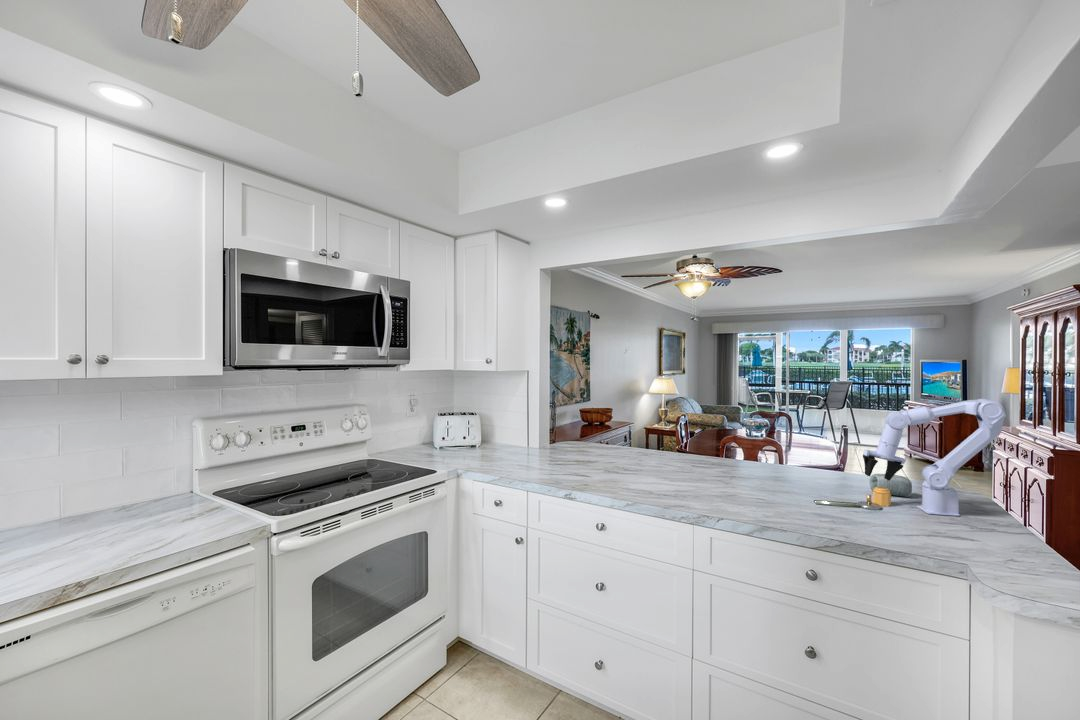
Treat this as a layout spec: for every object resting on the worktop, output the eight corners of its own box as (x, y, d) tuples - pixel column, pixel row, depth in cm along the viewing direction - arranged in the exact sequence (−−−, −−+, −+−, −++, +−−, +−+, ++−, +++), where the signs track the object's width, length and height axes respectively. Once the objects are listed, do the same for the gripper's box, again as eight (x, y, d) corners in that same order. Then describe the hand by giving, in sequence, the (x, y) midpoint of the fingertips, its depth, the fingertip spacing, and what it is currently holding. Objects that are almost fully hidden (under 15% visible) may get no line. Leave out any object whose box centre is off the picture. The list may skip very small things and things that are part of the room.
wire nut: (886, 502, 175) (886, 486, 175) (892, 506, 170) (892, 490, 170) (871, 501, 176) (871, 485, 176) (877, 505, 171) (877, 489, 171)
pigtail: (875, 504, 172) (875, 492, 172) (884, 510, 165) (884, 498, 165) (811, 500, 178) (811, 488, 178) (817, 506, 171) (817, 494, 171)
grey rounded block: (867, 487, 183) (874, 464, 186) (865, 492, 191) (872, 470, 193) (909, 501, 175) (917, 477, 177) (906, 506, 183) (913, 483, 185)
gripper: (899, 444, 175) (888, 477, 177) (862, 435, 175) (851, 469, 177) (914, 450, 168) (902, 484, 170) (875, 441, 168) (863, 476, 170)
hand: (877, 477), depth 173 cm, fingers open, 7 cm apart
